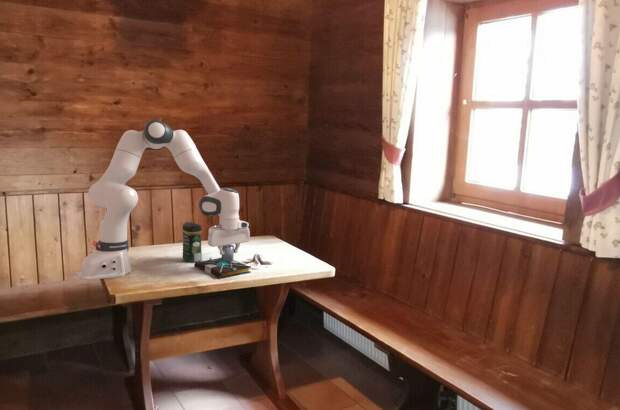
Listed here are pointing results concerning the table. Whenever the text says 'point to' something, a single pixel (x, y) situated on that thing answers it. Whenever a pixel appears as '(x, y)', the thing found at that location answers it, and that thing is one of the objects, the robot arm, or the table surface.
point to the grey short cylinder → (228, 253)
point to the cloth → (257, 261)
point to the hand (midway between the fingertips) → (228, 253)
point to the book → (222, 267)
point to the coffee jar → (192, 242)
